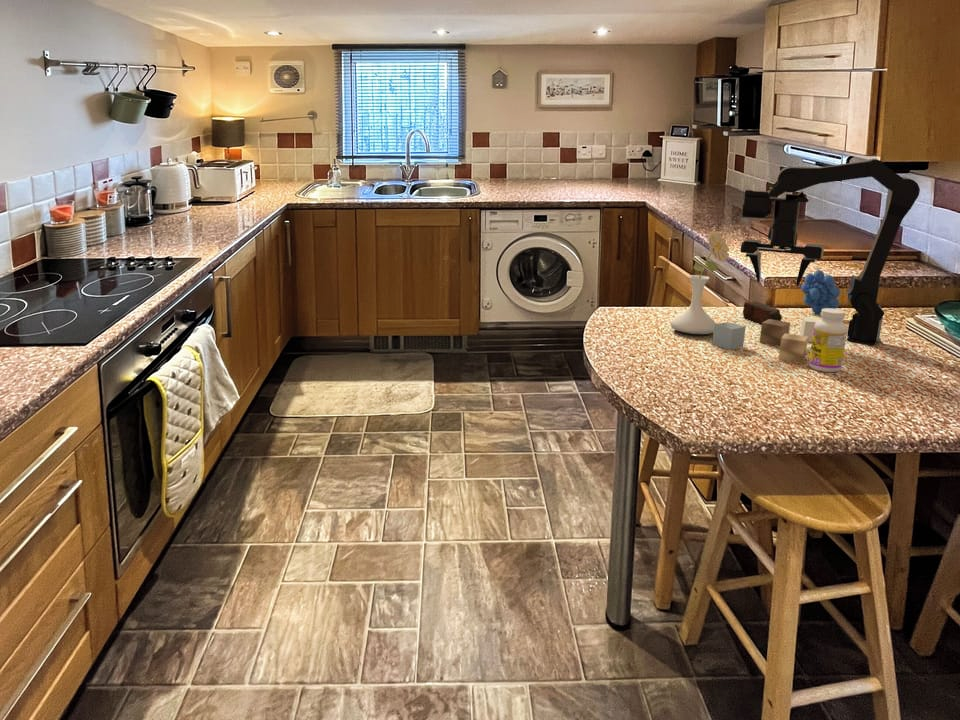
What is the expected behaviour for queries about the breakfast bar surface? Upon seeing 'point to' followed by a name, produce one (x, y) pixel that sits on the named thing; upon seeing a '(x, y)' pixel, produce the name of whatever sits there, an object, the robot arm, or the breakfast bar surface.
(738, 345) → the slate blue cube
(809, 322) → the cream cube
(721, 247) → the flower in vase
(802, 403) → the breakfast bar surface
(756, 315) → the brick
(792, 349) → the oak cube
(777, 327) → the walnut cube
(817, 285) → the grapes
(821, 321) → the supplement bottle
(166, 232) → the breakfast bar surface
